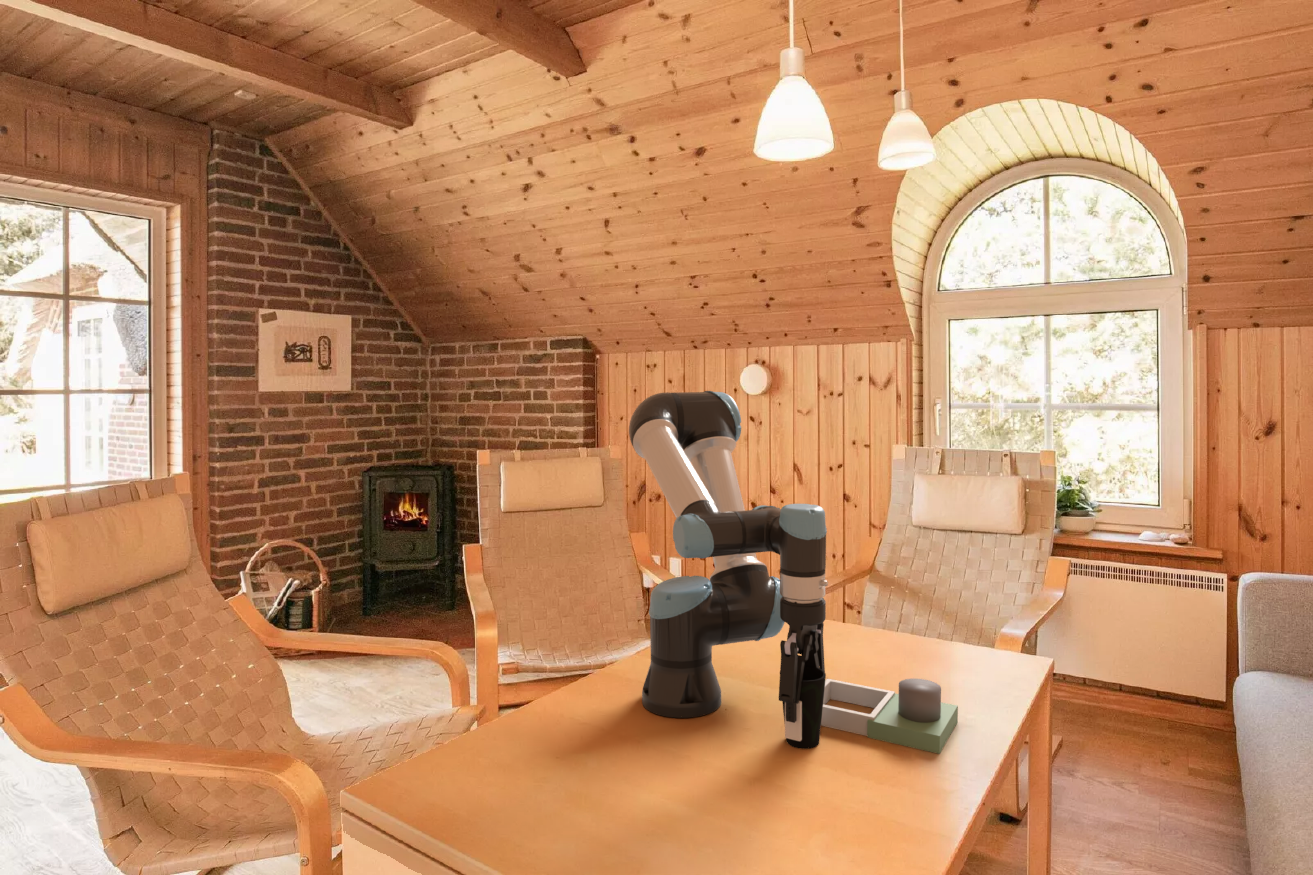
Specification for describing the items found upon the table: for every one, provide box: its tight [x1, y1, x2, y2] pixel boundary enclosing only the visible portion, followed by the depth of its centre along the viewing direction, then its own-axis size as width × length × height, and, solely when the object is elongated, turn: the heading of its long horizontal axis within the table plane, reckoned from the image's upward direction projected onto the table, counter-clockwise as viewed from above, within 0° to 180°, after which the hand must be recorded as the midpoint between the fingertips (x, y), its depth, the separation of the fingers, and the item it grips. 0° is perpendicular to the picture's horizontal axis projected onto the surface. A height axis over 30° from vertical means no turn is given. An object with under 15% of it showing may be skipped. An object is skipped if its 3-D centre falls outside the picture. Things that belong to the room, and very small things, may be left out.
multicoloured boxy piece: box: [821, 678, 959, 755], centre depth 144 cm, size 24×14×8 cm, turn 58°
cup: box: [781, 666, 827, 750], centre depth 137 cm, size 8×8×12 cm
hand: (802, 728), depth 137 cm, fingers closed on cup, 8 cm apart
